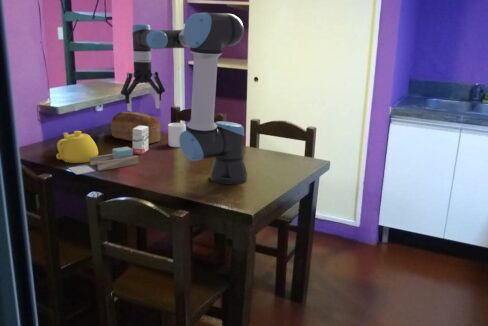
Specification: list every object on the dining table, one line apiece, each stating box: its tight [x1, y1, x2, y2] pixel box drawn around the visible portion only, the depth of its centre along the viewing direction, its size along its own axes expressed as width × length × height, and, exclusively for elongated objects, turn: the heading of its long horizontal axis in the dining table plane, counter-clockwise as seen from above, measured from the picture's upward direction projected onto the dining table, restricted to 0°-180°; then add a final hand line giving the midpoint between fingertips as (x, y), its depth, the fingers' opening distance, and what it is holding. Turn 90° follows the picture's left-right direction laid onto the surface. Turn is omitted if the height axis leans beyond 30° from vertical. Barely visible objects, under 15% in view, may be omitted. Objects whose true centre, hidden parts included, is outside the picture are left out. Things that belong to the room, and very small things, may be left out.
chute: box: [89, 153, 140, 172], centre depth 214 cm, size 10×18×4 cm, turn 128°
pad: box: [68, 164, 96, 175], centre depth 206 cm, size 10×8×1 cm
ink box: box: [132, 126, 149, 155], centre depth 234 cm, size 9×5×12 cm, turn 168°
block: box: [111, 146, 134, 159], centre depth 216 cm, size 6×7×6 cm
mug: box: [167, 122, 187, 148], centre depth 249 cm, size 9×12×11 cm
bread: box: [110, 111, 161, 145], centre depth 255 cm, size 12×28×14 cm, turn 59°
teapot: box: [56, 130, 99, 164], centre depth 220 cm, size 20×19×13 cm
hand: (143, 109), depth 220 cm, fingers open, 13 cm apart
